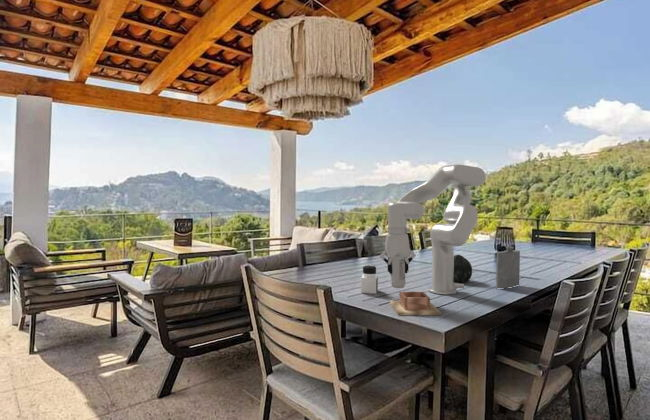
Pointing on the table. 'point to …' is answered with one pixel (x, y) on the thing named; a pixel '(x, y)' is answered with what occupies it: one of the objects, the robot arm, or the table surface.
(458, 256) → the squash
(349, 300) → the table surface
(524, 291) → the table surface
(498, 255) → the grey tall flat block
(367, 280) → the medicine bottle
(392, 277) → the energy drink can
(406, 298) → the can sleeve stand
